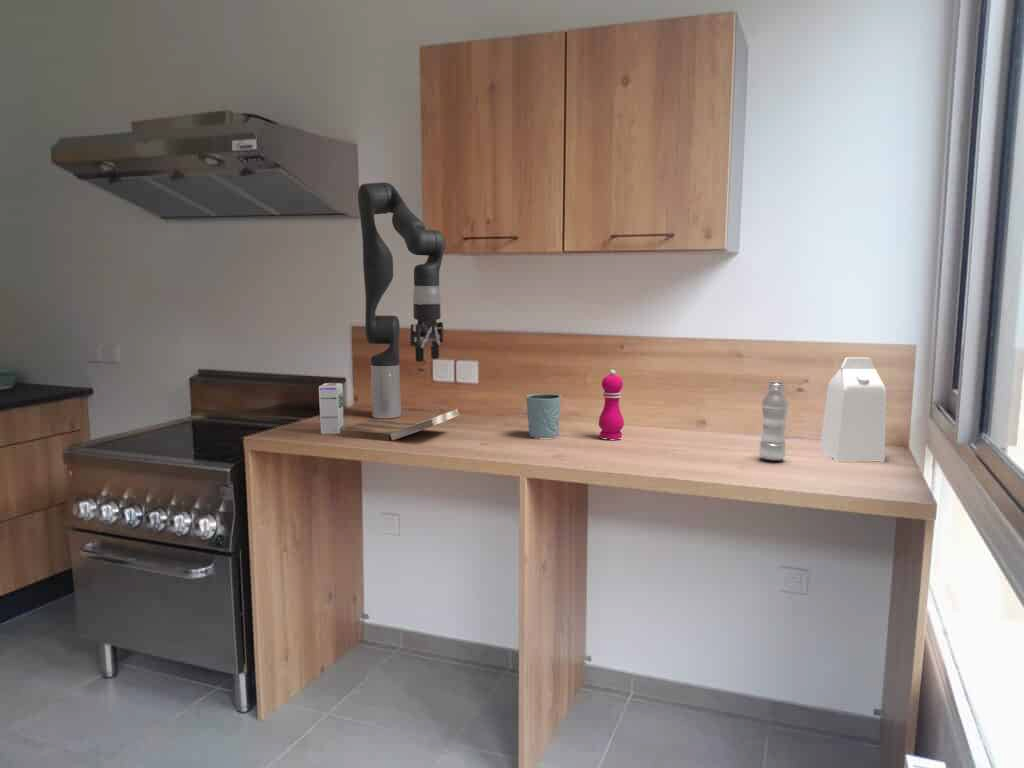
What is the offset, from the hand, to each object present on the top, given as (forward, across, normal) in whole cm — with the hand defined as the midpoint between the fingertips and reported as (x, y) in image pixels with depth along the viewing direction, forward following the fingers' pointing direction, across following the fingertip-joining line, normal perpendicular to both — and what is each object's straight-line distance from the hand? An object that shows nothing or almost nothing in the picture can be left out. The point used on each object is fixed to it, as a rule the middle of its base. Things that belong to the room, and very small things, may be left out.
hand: (427, 360), depth 213 cm
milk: (+23, -28, +111) cm, 117 cm away
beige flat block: (+20, -2, -2) cm, 20 cm away
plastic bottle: (+23, -15, +92) cm, 96 cm away
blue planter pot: (+23, -17, +28) cm, 40 cm away
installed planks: (+23, -1, -17) cm, 28 cm away
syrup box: (+23, +4, -30) cm, 38 cm away
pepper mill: (+23, -23, +47) cm, 57 cm away
